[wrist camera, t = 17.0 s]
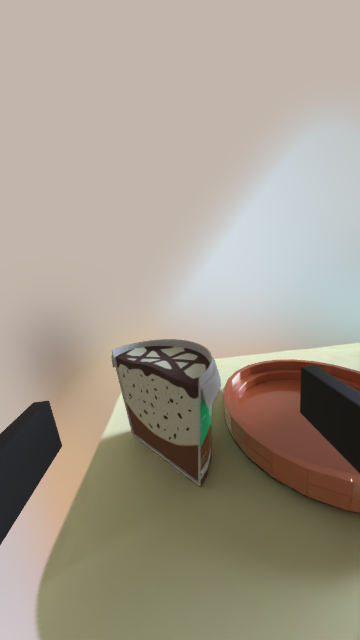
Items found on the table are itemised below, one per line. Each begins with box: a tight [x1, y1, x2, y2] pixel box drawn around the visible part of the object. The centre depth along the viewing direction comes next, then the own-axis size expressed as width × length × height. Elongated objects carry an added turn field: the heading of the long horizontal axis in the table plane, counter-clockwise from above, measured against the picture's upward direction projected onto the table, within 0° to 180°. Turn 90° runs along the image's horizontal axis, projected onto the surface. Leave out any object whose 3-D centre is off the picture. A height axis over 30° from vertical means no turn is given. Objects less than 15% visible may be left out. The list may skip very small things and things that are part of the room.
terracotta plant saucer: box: [224, 360, 360, 512], centre depth 21 cm, size 18×18×3 cm
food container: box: [112, 339, 221, 487], centre depth 20 cm, size 12×6×10 cm, turn 49°
